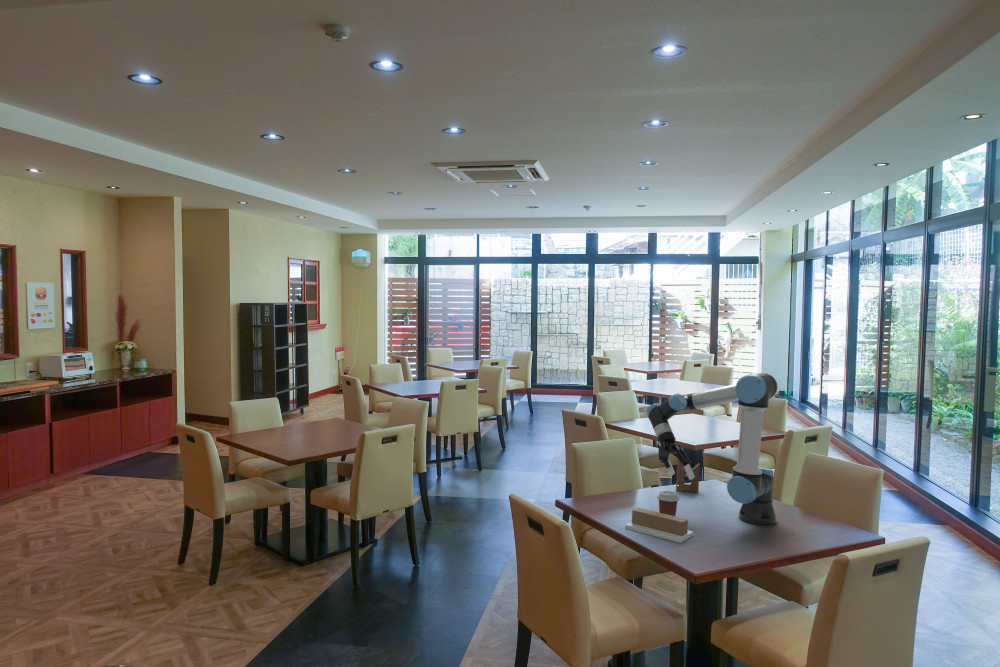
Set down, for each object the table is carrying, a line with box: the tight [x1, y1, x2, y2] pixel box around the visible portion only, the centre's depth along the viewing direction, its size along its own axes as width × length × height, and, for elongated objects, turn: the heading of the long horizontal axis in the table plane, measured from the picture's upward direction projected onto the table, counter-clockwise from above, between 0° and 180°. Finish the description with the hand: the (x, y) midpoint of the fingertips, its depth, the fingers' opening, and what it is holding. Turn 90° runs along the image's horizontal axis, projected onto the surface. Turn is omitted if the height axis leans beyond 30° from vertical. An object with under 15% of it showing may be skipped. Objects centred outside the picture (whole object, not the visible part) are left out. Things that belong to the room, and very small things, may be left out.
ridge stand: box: [624, 507, 694, 544], centre depth 263 cm, size 24×12×7 cm, turn 50°
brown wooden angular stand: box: [675, 458, 700, 494], centre depth 327 cm, size 4×11×18 cm, turn 76°
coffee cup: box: [656, 490, 680, 517], centre depth 278 cm, size 9×9×12 cm
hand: (682, 476), depth 283 cm, fingers open, 13 cm apart
